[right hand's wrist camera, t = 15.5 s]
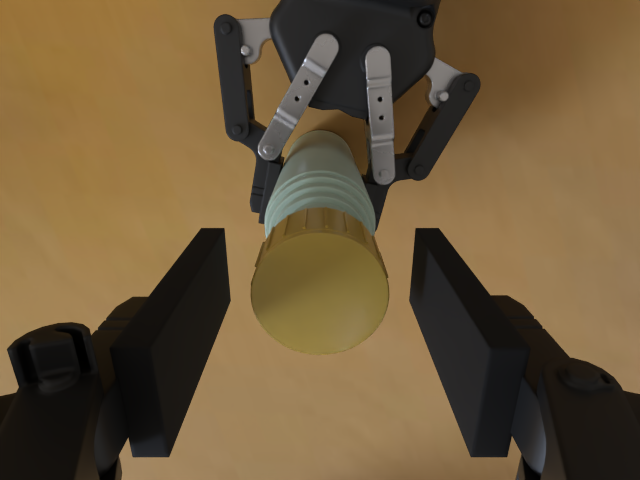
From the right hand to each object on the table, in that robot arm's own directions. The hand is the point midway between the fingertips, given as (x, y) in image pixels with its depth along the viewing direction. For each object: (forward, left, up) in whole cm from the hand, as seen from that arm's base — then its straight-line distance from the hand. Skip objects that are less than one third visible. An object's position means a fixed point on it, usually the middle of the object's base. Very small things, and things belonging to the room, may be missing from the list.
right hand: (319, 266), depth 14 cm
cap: (0, 0, +2) cm, 2 cm away
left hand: (-2, +2, -11) cm, 11 cm away
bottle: (0, 0, -17) cm, 17 cm away
